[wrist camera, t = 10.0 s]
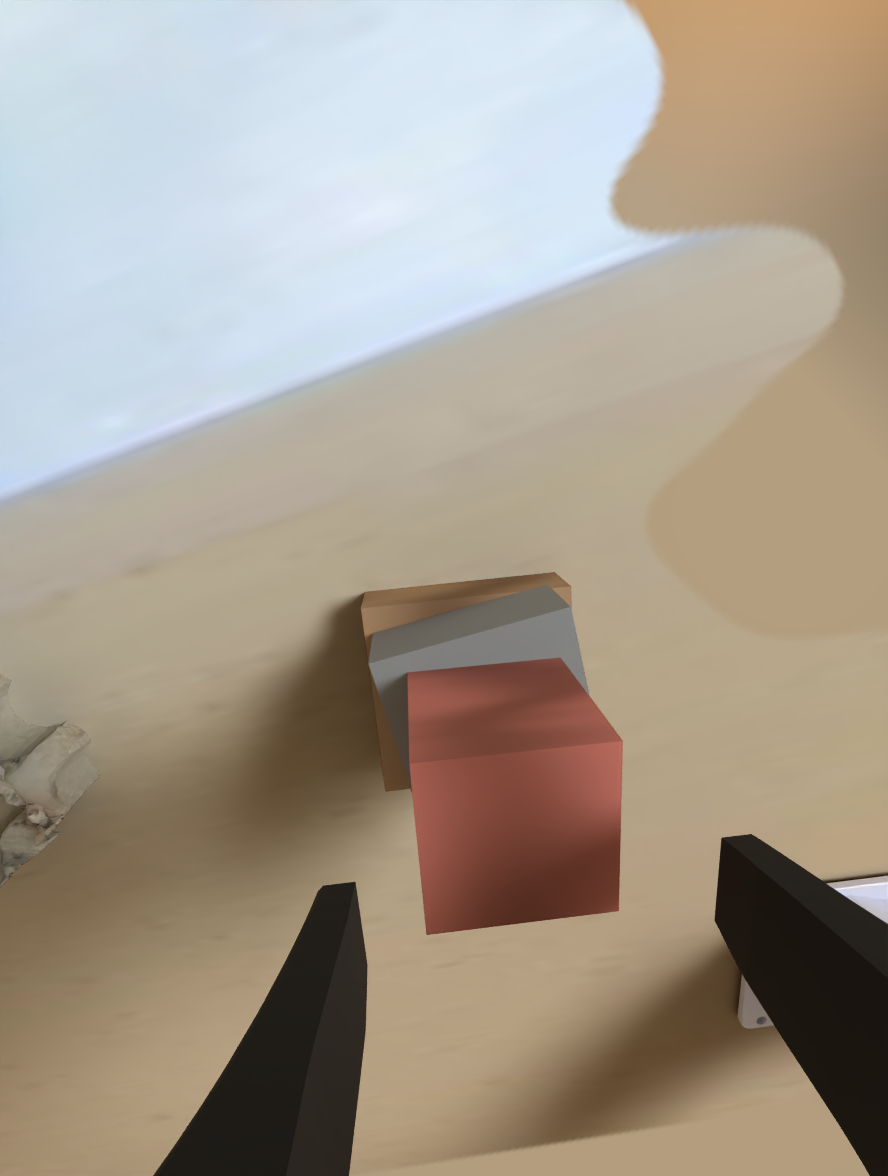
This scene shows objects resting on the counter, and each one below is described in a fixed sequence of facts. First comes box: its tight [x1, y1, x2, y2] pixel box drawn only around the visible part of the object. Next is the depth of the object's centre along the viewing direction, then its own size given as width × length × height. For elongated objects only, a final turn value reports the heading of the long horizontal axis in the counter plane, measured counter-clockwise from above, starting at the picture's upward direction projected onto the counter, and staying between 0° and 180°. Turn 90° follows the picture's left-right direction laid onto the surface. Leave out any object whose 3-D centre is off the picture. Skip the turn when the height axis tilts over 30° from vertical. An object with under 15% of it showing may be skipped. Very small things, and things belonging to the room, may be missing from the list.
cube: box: [407, 658, 623, 935], centre depth 14 cm, size 4×4×4 cm
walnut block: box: [361, 572, 572, 791], centre depth 19 cm, size 7×7×2 cm
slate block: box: [369, 584, 589, 791], centre depth 17 cm, size 6×6×2 cm
